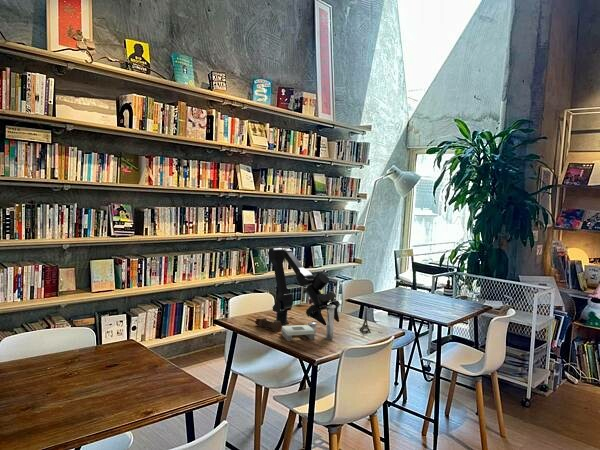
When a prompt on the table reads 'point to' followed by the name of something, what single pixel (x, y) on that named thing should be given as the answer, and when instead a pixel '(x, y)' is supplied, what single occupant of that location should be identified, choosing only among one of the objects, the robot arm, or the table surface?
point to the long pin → (330, 321)
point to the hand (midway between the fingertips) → (332, 323)
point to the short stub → (313, 325)
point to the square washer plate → (297, 331)
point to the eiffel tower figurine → (365, 326)
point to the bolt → (269, 324)
